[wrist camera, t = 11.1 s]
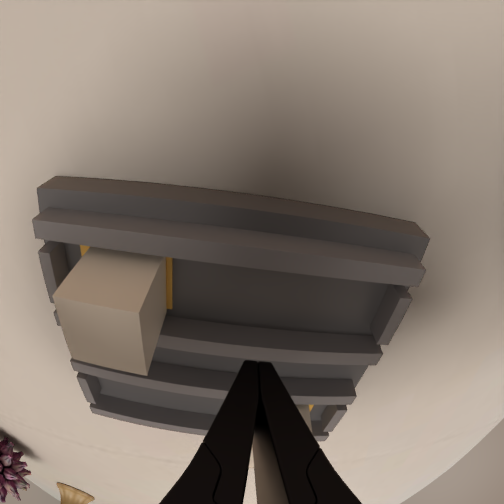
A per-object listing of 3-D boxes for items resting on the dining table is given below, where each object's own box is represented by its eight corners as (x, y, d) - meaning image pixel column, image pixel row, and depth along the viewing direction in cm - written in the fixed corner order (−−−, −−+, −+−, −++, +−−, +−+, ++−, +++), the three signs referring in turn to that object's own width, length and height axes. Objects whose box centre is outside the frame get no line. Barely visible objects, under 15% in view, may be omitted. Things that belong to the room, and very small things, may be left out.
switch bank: (415, 222, 13) (443, 253, 10) (323, 413, 20) (328, 445, 18) (55, 176, 12) (20, 199, 9) (99, 386, 19) (88, 416, 17)
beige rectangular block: (166, 251, 12) (139, 312, 9) (166, 311, 13) (147, 375, 10) (94, 241, 11) (52, 295, 8) (102, 301, 13) (72, 358, 10)
